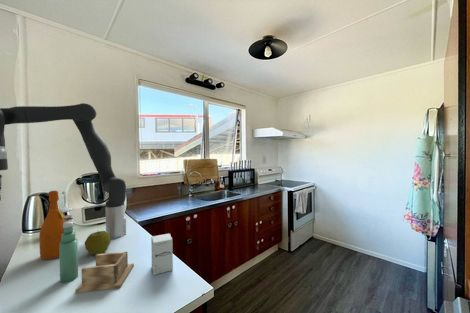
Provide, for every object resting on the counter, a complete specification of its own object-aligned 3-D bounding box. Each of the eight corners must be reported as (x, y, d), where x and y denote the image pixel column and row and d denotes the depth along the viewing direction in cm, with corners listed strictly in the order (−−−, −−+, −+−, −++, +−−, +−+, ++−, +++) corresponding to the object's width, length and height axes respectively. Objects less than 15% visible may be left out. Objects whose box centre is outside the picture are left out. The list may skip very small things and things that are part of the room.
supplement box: (153, 276, 76) (152, 242, 76) (151, 266, 82) (151, 236, 82) (173, 270, 79) (172, 238, 79) (170, 261, 86) (169, 232, 86)
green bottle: (74, 272, 79) (74, 219, 78) (80, 277, 76) (79, 221, 76) (57, 279, 74) (56, 223, 74) (62, 284, 71) (61, 226, 71)
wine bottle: (51, 261, 87) (50, 193, 87) (33, 259, 89) (32, 192, 89) (73, 251, 97) (72, 189, 97) (57, 249, 99) (56, 188, 98)
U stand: (133, 265, 83) (133, 249, 83) (120, 287, 69) (120, 267, 69) (96, 269, 81) (96, 252, 81) (75, 292, 67) (74, 272, 67)
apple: (107, 246, 102) (107, 224, 102) (112, 252, 95) (112, 229, 95) (83, 253, 95) (83, 230, 94) (87, 260, 88) (86, 235, 88)
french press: (65, 236, 115) (65, 192, 115) (45, 236, 115) (45, 193, 115) (79, 229, 125) (78, 189, 125) (60, 230, 125) (60, 190, 125)
